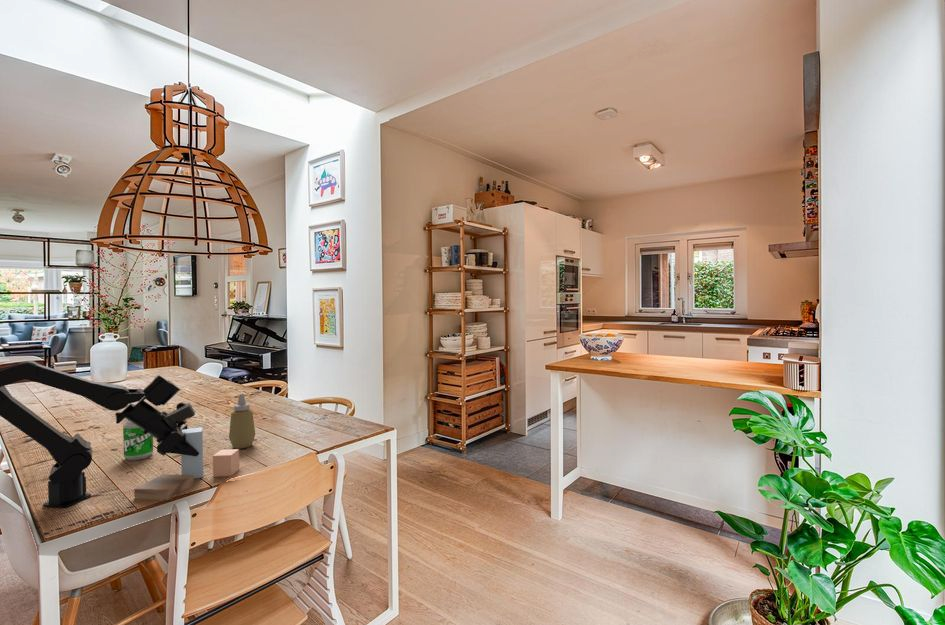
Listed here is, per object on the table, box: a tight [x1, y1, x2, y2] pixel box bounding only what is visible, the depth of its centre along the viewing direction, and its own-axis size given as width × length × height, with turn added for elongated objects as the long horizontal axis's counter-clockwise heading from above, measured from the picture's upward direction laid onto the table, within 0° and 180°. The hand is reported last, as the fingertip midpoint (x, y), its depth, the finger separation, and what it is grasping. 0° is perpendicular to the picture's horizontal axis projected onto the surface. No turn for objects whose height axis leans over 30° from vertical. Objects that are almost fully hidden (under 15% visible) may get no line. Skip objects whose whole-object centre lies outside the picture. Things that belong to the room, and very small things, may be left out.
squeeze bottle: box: [228, 393, 256, 450], centre depth 148 cm, size 8×8×18 cm
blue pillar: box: [180, 426, 204, 480], centre depth 123 cm, size 5×5×13 cm
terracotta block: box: [212, 448, 240, 477], centre depth 125 cm, size 5×5×6 cm
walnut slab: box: [133, 473, 195, 501], centre depth 113 cm, size 9×9×3 cm
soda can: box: [122, 420, 154, 461], centre depth 138 cm, size 8×8×12 cm
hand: (198, 451), depth 123 cm, fingers closed on blue pillar, 5 cm apart
